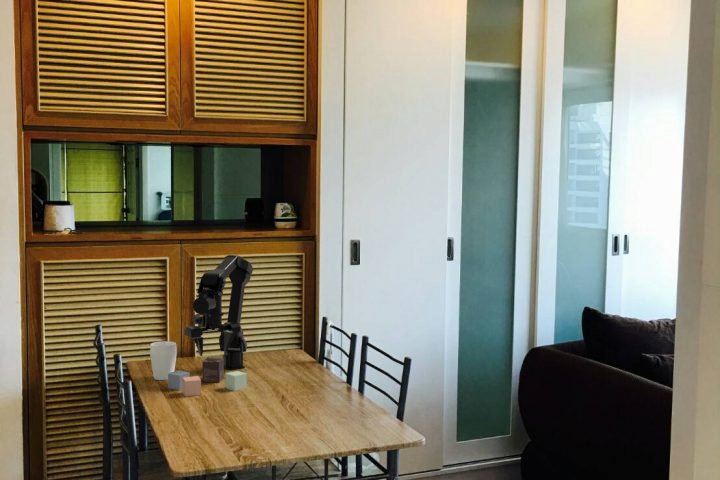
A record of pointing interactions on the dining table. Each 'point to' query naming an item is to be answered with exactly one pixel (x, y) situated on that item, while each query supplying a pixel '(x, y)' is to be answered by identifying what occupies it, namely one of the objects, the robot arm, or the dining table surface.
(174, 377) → the cube slate
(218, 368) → the box
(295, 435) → the dining table surface
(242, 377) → the cube sage
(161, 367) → the cup
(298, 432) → the dining table surface
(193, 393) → the cube terracotta
